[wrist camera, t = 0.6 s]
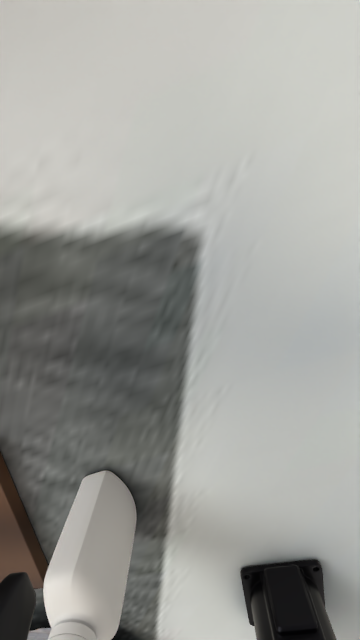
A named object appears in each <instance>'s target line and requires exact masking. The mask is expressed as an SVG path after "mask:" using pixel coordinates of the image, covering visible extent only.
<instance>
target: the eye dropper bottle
mask: <svg viewBox="0 0 360 640" xmlns="http://www.w3.org/2000/svg"><path fill="white" fill-rule="evenodd" d="M136 521H137V513H136V506H135V502H134V499H133V497H132V495H131V493H130V491H129V489H128V488H127V486H126V485H125V484H124V483H123V482H122V481H121V479H119V478H118V477H117V476H116V475H115V474H114V473H112V472H110V471H107V470H106V471H101V472H97V473H94V474H91V475H88V476H86V477H85V478H83V480H82V483H81V485H80V488H79V490H78V493H77V495H76V498H75V500H74V503H73V505H72V508H71V510H70V513H69V515H68V518H67V520H66V523H65V525H64V528H63V531H62V533H61V536H60V538H59V541H58V543H57V546H56V548H55V551H54V553H53V556H52V559H51V561H50V564H49V567H48V570H47V572H46V575H45V579H44V587H43V593H44V604H45V609H46V614H47V617H48V620H49V623H50V626H51V628H52V630H51V631H50V634H49V637H48V640H111V639H112V638H113V637H114V636H115V634H116V632H117V630H118V626H119V623H120V617H121V612H122V606H123V601H124V595H125V589H126V583H127V577H128V571H129V565H130V559H131V553H132V547H133V541H134V535H135V528H136Z"/></svg>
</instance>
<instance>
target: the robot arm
mask: <svg viewBox="0 0 360 640" xmlns="http://www.w3.org/2000/svg"><path fill="white" fill-rule="evenodd" d="M240 573H241V579H242V585H243V590H244V596H245V601H246V607H247V612H248V618H249V623H250V625H252V626H255V632H256V638H257V640H336V637H335V634H334V632H333V629H332V626H331V623H330V620H329V618H328V615H327V612H326V609H325V600H324V587H323V574H322V567H321V565H320V562H319V561H318V560H307V561H298V562H290V563H281V564H272V565H264V566H255V567H247V568H243V569H242V570H241V572H240ZM35 606H36V593H35V591H34V588H33V586H32V583H31V581H30V578H29V576H28V574H27V573H26V572H17V573H11V574H9V575H8V576H6V577H5V578H4V579H3V580H2V581H1V582H0V640H27V638H28V634H29V630H30V626H31V622H32V618H33V614H34V610H35Z"/></svg>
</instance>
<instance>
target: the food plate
mask: <svg viewBox="0 0 360 640" xmlns="http://www.w3.org/2000/svg"><path fill="white" fill-rule="evenodd" d="M51 630H52V628H39V629H36V630H34V631H30V630H29V634H28V638H27V640H48V637H49V634H50V631H51Z"/></svg>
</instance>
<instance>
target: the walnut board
mask: <svg viewBox="0 0 360 640" xmlns="http://www.w3.org/2000/svg"><path fill="white" fill-rule="evenodd" d="M48 567H49V566H48V564H47V562H46V559H45V557H44V554H43V552H42V550H41V547H40V545H39V543H38V540H37V538H36V535H35V533H34V531H33V528H32V526H31V524H30V521H29V519H28V516H27V514H26V512H25V509H24V507H23V504H22V502H21V500H20V497H19V495H18V493H17V490H16V488H15V485H14V483H13V481H12V478H11V476H10V474H9V471H8V469H7V466H6V464H5V462H4V459H3V457H2V455H1V452H0V582H1V581H2V580H3V579H4V578H5V577H6V576H8V575H9V574H11V573H17V572H26V573H27V574H28V576H29V578H30V581H31V583H32V586H33V588H34V589H38V588H43V587H44V579H45V575H46V572H47V570H48Z"/></svg>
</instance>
